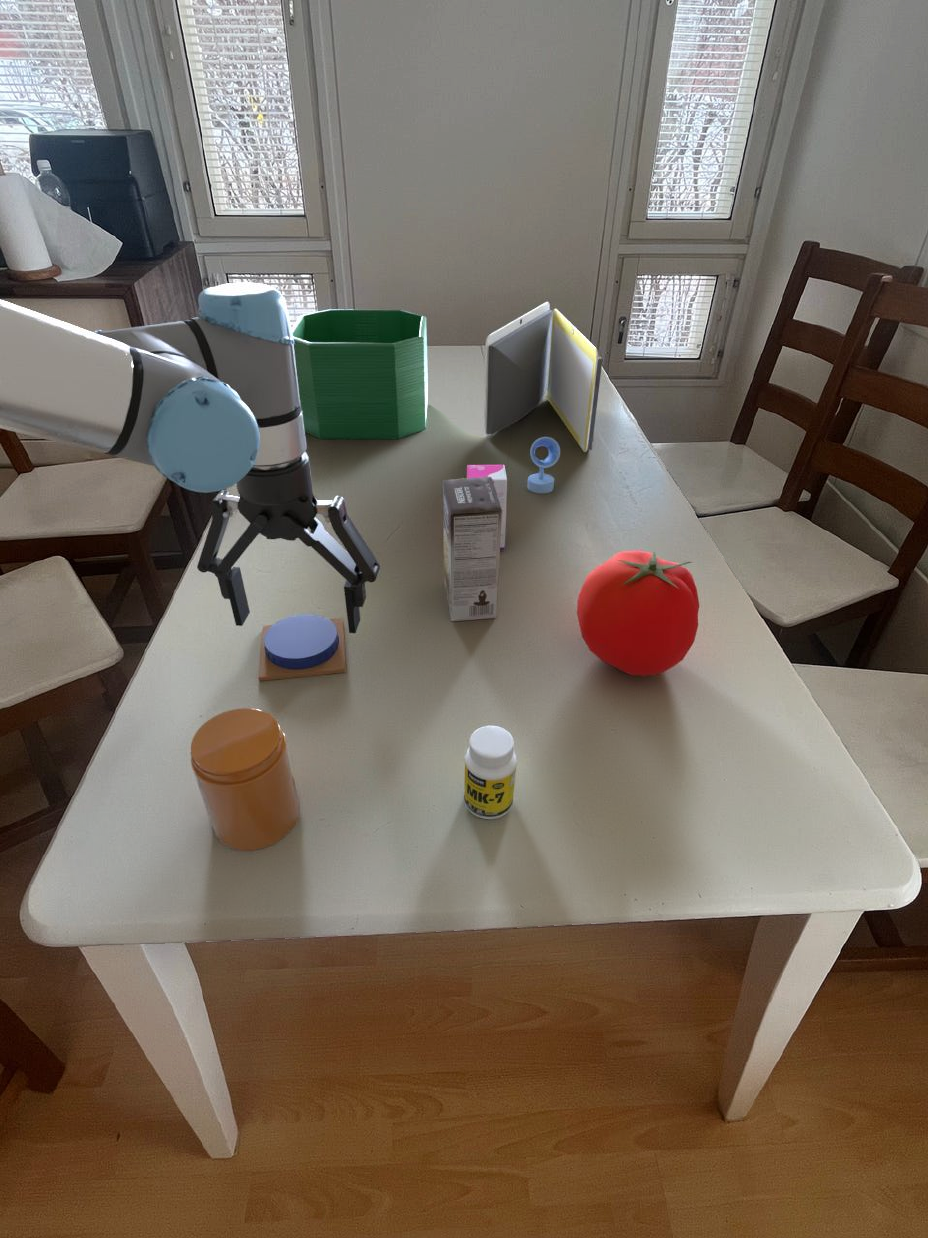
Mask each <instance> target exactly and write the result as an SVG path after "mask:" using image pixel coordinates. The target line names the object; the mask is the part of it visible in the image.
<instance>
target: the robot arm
mask: <svg viewBox="0 0 928 1238" xmlns="http://www.w3.org/2000/svg"><path fill="white" fill-rule="evenodd" d="M197 301H198V310H197V313H198V316H195V317H191V318H188V319H185V320H179V321H171V322H163V323H157V324H149V325H148V324H147V325H142V326H141V325H140V326H133V327H126V328H120V329H110V330H102V329H96V330H94V331H91V330H88V329H84V328H81V327H79V326H76V325H73V324H71V323H68V322H65V321H62V320H60V319H56V318H54V317H51V316H48V315H45V314H42V313H40V312H37V311H34V310H31V309H29V308H26V307H23V306H20V305H17V304H15V303H11V302H10V301H6V300H4V299H1V298H0V429H2V430H6V431H10V432H14V433H18V434H22V435H27V436H29V437H34V438H39V439H44V440H48V441H52V442H55V443H59V444H63V445H67V446H72V447H76V448H81V449H84V450H88V451H93V452H97V453H101V454H105V455H109V456H113V457H117V458H120V459H124V460H127V461H131V462H135V463H138V464H139V463H140V464H143V465H147V466H152V467H155V469H156V470H157V471H158V473H159V474H161V475H162V476H163V477H165V478H166V479H168V480H170V481H171V482H173V483H175V484H176V485H178V486H179V487H181V488H182V489H185V490H188V491H191V492H195V493H204V494H205V493H215V492H218V493H217V494H216V496H214V498H213V500H212V501H211V502H210V509H211V510H210V511H211V517H212V519H211V522H210V525H209V528H208V531H207V533H206V537H205V541H204V544H203V547H202V550H201V553H200V555H199V560H198V563H197V567H196V568H197V570H198V571H199V572H201V573H202V574H203V573H204V574H205V573H207V572H209V573H211V574H214V576H215V577H216V578H217V581H218V586H219V589H220V593H221V596H222V597H223V599H224V600H229V602H230V607H231V611H232V615H233V619H234V623H235V626H238V627H242V626H243V625H244V623H245V622H246V620H247V619H248V617H249V615H250V614H251V610H250V607H249V602H248V597H247V593H246V588H245V585H244V579H243V575H242V571H241V567H240V566H234V565H235V564H236V563H237V562H238V560H239V559H240V558H241V556H243V554H244V553H245V552H246V550H247V549H248V548H249V547H250V545H251V544H252V543H253V542H254V541H255V539H256V538H257V537H258V535H259V534H260V535H262V536H263V537H265V538H266V540H278V539H282V540H286V541H291V542H295V541H296V540H297V539H299V540H300V541H301V542H302V543H303V544H304V545H305V546H306V547H311V548H312V549H313V550H314V551H315V552H316V553H318V555H319V556H320V557H322V558H323V559H324V560H325V562H327V563H328V564H329V565H330V566H331V567H332V568H333V569H334V570H335V571H336V572H338V574H339V575H340V576H342V577H343V579H345V583H344V586H343V591H344V592H343V593H344V600H345V601H344V602H345V609H346V619H347V627H348V634H356V633H357V631H358V628H359V625H360V622H361V613H360V608H363V607H364V605H365V602H366V599H367V589H366V583H367V582H368V583H374V582H376V581H377V578H378V575H379V572H380V569H381V565H380V563H379V562H378V560H377V558H376V557H375V555H374V553H373V552H372V550H371V549H370V547H369V545H368V544H367V543H366V541H365V539H364V537H363V536H362V535H361V533H360V531H359V530H358V528H357V527H356V525H355V524H354V522H353V520H352V519H351V517H350V516H349V514H348V511H347V506H346V502H345V498H343V496H341V495H336V496H334V497H333V499H331V500H318V498H316V496H315V494H314V489H313V480H312V473H311V472H312V471H311V465H310V459H309V454H308V453H307V452H306V450H307V449H308V446H307V445H308V444H307V438H306V432H305V429H304V422H303V414H302V409H301V403H300V397H299V388H298V379H297V371H296V362H295V353H294V345H293V344H294V338H293V335H292V330H291V329H292V325H291V321H290V320H291V319H290V314H289V312H288V308H287V302H286V299H285V297H284V296H283V294H282V293H281V292H280V291H279V290H278V289H276V288H274V287H272V286H271V285H267V284H264V283H256V282H255V283H254V282H233V283H231V282H230V283H223V284H218V285H217V286H211V287H207V288H205V289H204V290H202V291H201V292H200V293H199V295H198V299H197ZM235 485H236V489H237V493H238V495H239V496H234V495H231V494H230V492H229V491H228V490H227V489H229V488H230V487H234V486H235ZM237 510H238V512H239V514H241V516H243V518H245V520H246V521H247V522H248V523H249V525H248V526H247V527H246V528H245V530H244V531H243V532H242V533H241V535H240V536H239V537H238V539H236V541H235V542H234V544H233V545H232V546H231V548H230V549H229V550H228V552H227V553H226V554H225V555H224V557H222V558H220V557H218V554H219V551H220V548H221V545H222V542H223V539H224V536H225V533H226V530H227V527H228V524H229V521H230V519H231V517H233V515H234V514H235V513H236V511H237ZM317 515H321V516H322V517H323V518H324V519H325V523H327V524H330V525H331V528H332V530H333V532H334V533H335V535H336V537H337V538H338V540H339V541H340V543H339V542H338V541H337V540H336V539H335V538H334V537H333V536H332V535H331V534H330V533H329V532H328V531H327V530H326V529H325V527H324V524H323V523H322V522H321V521H320V520H319V519H318V518H317ZM308 528H309V529H310V530H308ZM341 544H342V545H341Z"/></svg>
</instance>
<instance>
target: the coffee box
mask: <svg viewBox="0 0 928 1238" xmlns="http://www.w3.org/2000/svg"><path fill="white" fill-rule="evenodd" d="M442 513H443V515H442V517H443V519H442V520H443V521H442V522H443V523H442V525H443V582H444V588H445V594H446V599H447V600H446V601H447V605H448V610H449V611H448V612H449V618H450V621H451V622H460V621H461V622H462V621H472V620H473V621H474V620H485V619H486V620H487V619H496V618H497V617H498V599H499V597H498V596H499V595H498V594H499V578H500V577H499V575H500V562H501V561H500V559H501V558H500V557H501V551H500V545H501V525H502V508H501V504H500V502H499V499H498V495H497V492H496V489H495V486H494V483H493V480H492V478H491V477H480V478H467V477H465V478H463V477H462V478H456V479H443V480H442Z"/></svg>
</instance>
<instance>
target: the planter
mask: <svg viewBox="0 0 928 1238" xmlns="http://www.w3.org/2000/svg"><path fill="white" fill-rule="evenodd" d="M291 330H292V335H293V338H294V344H293V345H294V353H295V362H296V371H297V379H298V388H299V397H300V403H301V409H302V414H303V422H304V429H305V433H308V434H310V435H312V436H314V437H316V438H318V439H320V440H400V439H403V438H406V437H408V436H411V435H414V434H416V433H419V432H421V431H424V430H426V428H427V418H428V417H427V415H428V403H429V400H428V399H429V395H428V392H429V376H428V375H429V374H428V373H429V371H428V342H427V341H428V338H427V337H428V336H427V335H428V333H427V317H426V316H424V315H421V314H417V313H414V312H410V311H407V310H403V309H326V310H325V309H324V310H320V311H316V312H311V313H306V314H302V315H299V317H298V319H297V320H296V321H295V323H294V325H292V326H291Z"/></svg>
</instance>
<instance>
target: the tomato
mask: <svg viewBox="0 0 928 1238" xmlns="http://www.w3.org/2000/svg"><path fill="white" fill-rule="evenodd" d="M690 563H692V561H685V562H681V563H678V562H673V561H668V560H665V559H662V558H660V557H658V556H657V554H656V552H655V551H654V552H653V553H651V552H648V551H644V550H643V551H642V550H638V549H637V550H636V549H635V550H626V551H625V550H624V551H619V552H617V553H616V554H614V555H613V556H611V557H610V558H609V559H607V560H606V561H605V562H603V563H602V564H599V565H597V566H596V567H595V568H593V569H592V571H590V572H589V573H588V574H587V575H586V577H585V579H584V581H583V584H582V585H581V586H582V587H581V588H580V591H579V593H578V596H577V601H576V602H577V603H576V616H577V620H578V624H579V625H578V626H579V629H580V634H581V637H582V639H583V641H584V643H585V644H586V647H587V648H588V649H589V651H590V652H591V653H592V654H594V656H595V657H597V658H598V659H599V660H601V661H602V662H604V663H606V664H608V665H610V666H612V667H613V668H616V669H618V670H620V671H622V672H624V673H626V674H627V675H630V676H643V677H647V676H653V675H658V674H663V673H665V672H666V671H668V670H669V669H671V668H673V667H675V666H677V665H679V663H680V662H682V661H683V660H684V659H685V657H686V656H687V654H688V652H689V651H690V649H692V646H693V644H694V643H695V640H696V636H697V633H698V627H699V610H700V600H699V594H698V587H697V585H696V582H695V579H694V576H693V574H692V573H691V572H690V570H688V569H687V568H686V567H684V566H685V565H687V564H690Z"/></svg>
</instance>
